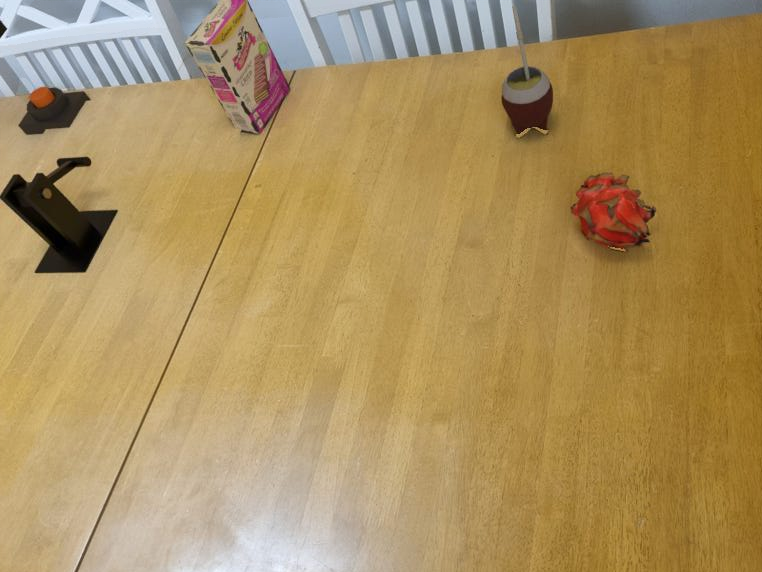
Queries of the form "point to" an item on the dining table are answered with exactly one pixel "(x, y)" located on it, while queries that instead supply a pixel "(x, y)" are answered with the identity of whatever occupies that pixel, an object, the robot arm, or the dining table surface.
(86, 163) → the switch lever
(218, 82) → the candy bar box
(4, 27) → the robot arm
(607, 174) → the dragon fruit
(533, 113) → the mate gourd
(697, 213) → the dining table surface
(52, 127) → the button box
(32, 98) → the power button
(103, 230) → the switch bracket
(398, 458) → the dining table surface
